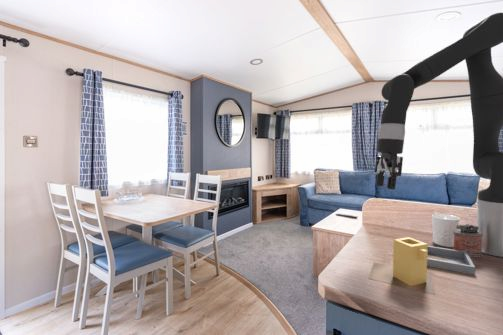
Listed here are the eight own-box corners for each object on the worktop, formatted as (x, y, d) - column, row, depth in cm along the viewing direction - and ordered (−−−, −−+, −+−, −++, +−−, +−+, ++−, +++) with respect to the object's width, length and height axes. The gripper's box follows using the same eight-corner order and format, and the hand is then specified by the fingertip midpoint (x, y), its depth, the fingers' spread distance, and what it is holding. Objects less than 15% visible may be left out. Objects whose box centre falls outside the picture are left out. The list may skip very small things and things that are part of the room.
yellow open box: (393, 275, 66) (393, 239, 65) (407, 272, 67) (408, 237, 66) (417, 289, 59) (418, 249, 58) (432, 285, 61) (433, 246, 60)
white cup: (433, 238, 95) (434, 212, 94) (459, 243, 89) (461, 216, 88) (429, 243, 89) (430, 217, 88) (457, 249, 84) (458, 221, 83)
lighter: (476, 252, 81) (477, 223, 80) (484, 257, 78) (486, 226, 77) (450, 252, 82) (451, 222, 81) (457, 256, 78) (458, 226, 78)
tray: (466, 261, 75) (466, 251, 75) (474, 278, 65) (475, 267, 65) (420, 253, 81) (420, 244, 81) (422, 267, 72) (422, 257, 71)
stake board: (431, 277, 66) (432, 240, 66) (434, 298, 57) (436, 255, 56) (373, 265, 74) (374, 231, 73) (368, 282, 65) (369, 244, 64)
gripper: (415, 138, 73) (408, 191, 74) (392, 141, 87) (386, 185, 88) (388, 136, 74) (382, 189, 75) (370, 139, 88) (365, 183, 89)
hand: (384, 187), depth 82 cm, fingers open, 8 cm apart
